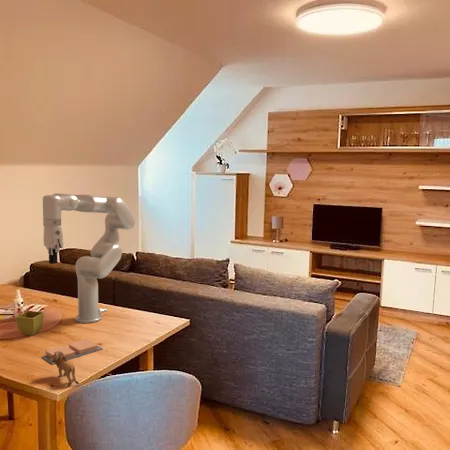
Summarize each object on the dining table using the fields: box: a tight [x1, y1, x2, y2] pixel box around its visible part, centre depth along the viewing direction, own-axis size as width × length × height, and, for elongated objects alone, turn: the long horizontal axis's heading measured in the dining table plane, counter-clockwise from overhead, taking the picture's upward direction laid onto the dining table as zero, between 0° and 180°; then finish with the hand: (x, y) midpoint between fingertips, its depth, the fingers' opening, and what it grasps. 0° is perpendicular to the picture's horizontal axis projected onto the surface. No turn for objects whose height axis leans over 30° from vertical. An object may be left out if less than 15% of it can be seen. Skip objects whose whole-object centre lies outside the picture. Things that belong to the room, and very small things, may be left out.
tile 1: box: [45, 345, 75, 358], centre depth 187 cm, size 8×2×9 cm
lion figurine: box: [50, 351, 80, 386], centre depth 167 cm, size 15×5×9 cm, turn 53°
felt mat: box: [41, 345, 104, 366], centre depth 190 cm, size 22×9×1 cm, turn 136°
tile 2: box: [68, 338, 98, 354], centre depth 194 cm, size 8×2×9 cm
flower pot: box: [15, 310, 45, 336], centre depth 210 cm, size 9×9×9 cm
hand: (53, 263), depth 209 cm, fingers closed
